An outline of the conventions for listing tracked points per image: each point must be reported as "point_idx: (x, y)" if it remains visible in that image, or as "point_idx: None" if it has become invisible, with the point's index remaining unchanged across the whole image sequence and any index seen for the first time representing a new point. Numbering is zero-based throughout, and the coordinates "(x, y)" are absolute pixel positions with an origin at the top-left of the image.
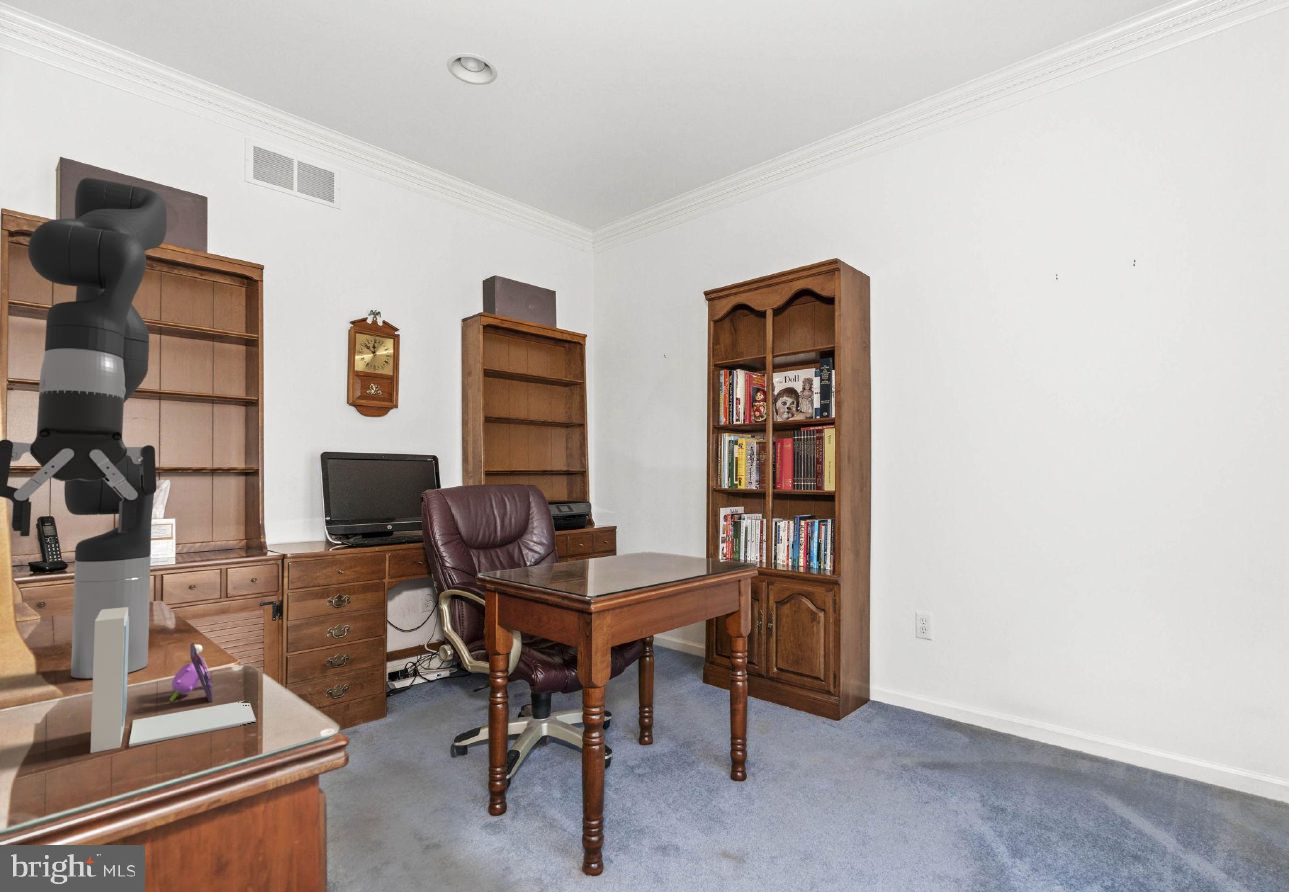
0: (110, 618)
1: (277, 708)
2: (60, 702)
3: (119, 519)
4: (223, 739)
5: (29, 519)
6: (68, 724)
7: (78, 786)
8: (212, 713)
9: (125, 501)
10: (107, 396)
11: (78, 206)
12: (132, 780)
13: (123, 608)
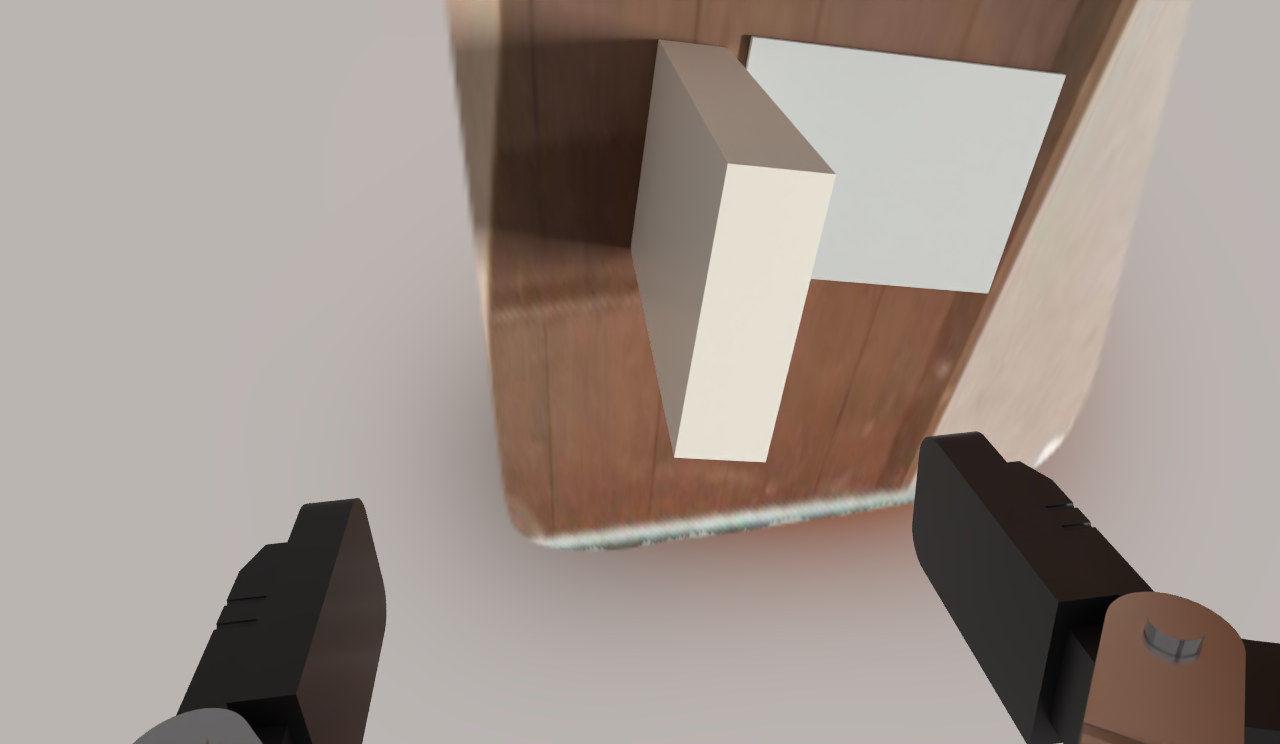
0: (725, 440)
1: (1081, 201)
2: None
3: (964, 528)
4: (884, 359)
5: (364, 701)
6: None
7: (601, 442)
8: (937, 146)
9: (1049, 735)
10: None
11: None
12: (686, 473)
13: (810, 206)
